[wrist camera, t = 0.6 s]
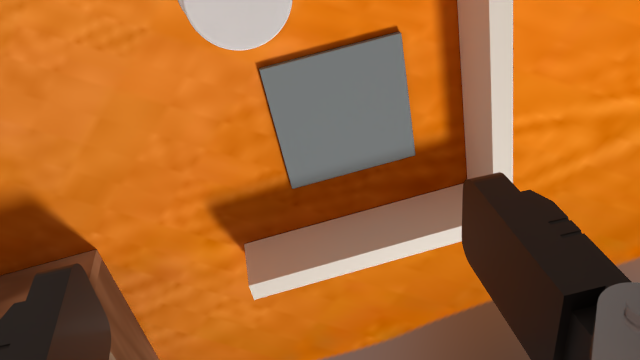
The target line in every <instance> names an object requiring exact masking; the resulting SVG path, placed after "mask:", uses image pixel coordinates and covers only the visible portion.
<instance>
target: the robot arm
mask: <svg viewBox="0 0 640 360" xmlns="http://www.w3.org/2000/svg"><path fill="white" fill-rule="evenodd" d="M462 244H463V249H464V252H465V255H466V258H467V260H468V262H469V264H470V265H471V267H472V269H473V270H474V272H475V273H476V275H477V276H478V278H479V279H480V281H481V283H482V284H483V286H484V287H485V289H486V290H487V292H488V293H489V295H490V297H491V298H492V300H493V301H494V303H495V304H496V306H497V307H498V309H499V311H500V312H501V314H502V315H503V317H504V318H505V320H506V321H507V323H508V325H509V326H510V327H511V329H512V331H513V332H514V334H515V335H516V337H517V339H518V340H519V342H520V343H521V345H522V346H523V348H524V349H525V351H526V353H527V354H528V355H529V357H530V359H531V360H640V283H632V282H631V281H630V280H629V279H628V278H627V277H626V276H625V275H624V274H623V273H622V272H621V271H620V270H619V269H618V268H617V267H616V266H615V265H614V264H613V263H612V261H611V260H610V259H609V258H608V257H607V256H606V255H605V254H604V253H603V252H602V251H601V250H600V249H599V248H598V247H597V246H596V245H595V244H594V243H593V242H592V241H591V240H590V239H589V238H588V237H587V236H586V235H585V234H582V233H581V230H580V229H579V228H578V227H577V226H576V225H575V224H574V223H573V222H572V221H571V220H570V221H569V220H568V217H567V215H566V214H565V213H564V212H563V211H562V210H561V209H560V208H559V207H558V206H557V205H556V204H555V203H554V202H553V201H551V200H549V199H547V198H545V197H543V196H541V195H539V194H537V193H535V192H533V191H532V190H527V191H522V192H520V191H519V190H518V189H517V188H516V187H515V185H514V184H513V183H512V182H511V181H510V180H509V179H508V178H507V177H506V176H505V175H504V174H503V173H501V172H498V173H494V174H489V175H484V176H480V177H475V178H471V179H466V180H465V182H464V184H463V198H462ZM110 349H111V331H110V325H109V321H108V318H107V316H106V313H105V311H104V309H103V307H102V305H101V303H100V301H99V299H98V297H97V295H96V293H95V291H94V289H93V287H92V285H91V282H90V280H89V278H88V276H87V274H86V272H85V270H84V269H83V267H82V266H81V265H80V264H78V263H76V264H71V265H67V266H62V267H57V268H53V269H48V270H44V271H39V272H37V273H36V275H35V276H34V279H33V282H32V284H31V287H30V290H29V293H28V296H27V298H26V301H22V302H18V303H14V304H13V305H12V306H11V307H10V308H9V310H8V311H7V312H6V313H5V314H4V315H3V317H2V318H1V319H0V360H109V356H110Z"/></svg>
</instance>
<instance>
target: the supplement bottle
mask: <svg viewBox="0 0 640 360" xmlns="http://www.w3.org/2000/svg"><path fill="white" fill-rule="evenodd" d="M178 2H179V4H180V6H181V8H182V10H183V11H184V13H185V14H186V16H187V18H188V20H189V21H190V23H191V25H192V26H193V27H194V29H195V30H196V31H197V32H198V33H199V34H200V35H201V36H202V37H203V38H205V39H206V40H207V41H209V42H210V43H212V44H214V45H216V46H219V47H221V48H225V49H229V50H248V49H253V48H256V47H259V46H261V45H263V44H265V43H267V42H268V41H269V40H271V39H272V38H273V37H275V36H276V35H277V34H278V32H279V31H280V30H281V29H282V27H283V26H284V24H285V23H286V21H287V19H288V16H289V14H290V10H291V6H292V0H178Z"/></svg>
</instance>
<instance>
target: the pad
mask: <svg viewBox="0 0 640 360" xmlns="http://www.w3.org/2000/svg"><path fill="white" fill-rule="evenodd" d="M259 71H260V74H261V78H262V82H263V85H264V89H265V92H266V96H267V100H268V103H269V107H270V110H271V114H272V118H273V121H274V125H275V128H276V132H277V136H278V139H279V143H280V146H281V150H282V154H283V157H284V161H285V165H286V168H287V172H288V175H289V179H290V183H291V186H292V189H294V188H298V187H301V186H305V185H308V184H312V183H316V182H319V181H323V180H327V179H330V178H334V177H338V176H341V175H345V174H349V173H352V172H356V171H360V170H363V169H367V168H371V167H374V166H378V165H382V164H385V163H389V162H393V161H396V160H400V159H403V158H407V157H411V156H414V155H415V148H414V139H413V131H412V122H411V113H410V105H409V96H408V88H407V79H406V71H405V62H404V54H403V45H402V37H401V33H400V32H395V33H392V34H388V35H384V36H380V37H376V38H373V39H369V40H365V41H361V42H357V43H353V44H350V45H346V46H342V47H338V48H334V49H331V50H327V51H323V52H319V53H315V54H312V55H308V56H304V57H300V58H296V59H292V60H289V61H285V62H281V63H277V64H273V65H270V66H266V67H262V68H259Z"/></svg>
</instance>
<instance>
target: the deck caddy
mask: <svg viewBox="0 0 640 360" xmlns="http://www.w3.org/2000/svg"><path fill="white" fill-rule="evenodd" d="M76 263H78V264H80V265H81V266H82V267H83V269H84V270H85V272H86V274H87V276H88V278H89V280H90V282H91V285H92V287H93V289H94V291H95V293H96V295H97V297H98V299H99V301H100V303H101V305H102V307H103V309H104V311H105V313H106V316H107V318H108V321H109V325H110V331H111V349H110V356H109V360H159V359H158V357H157V355H156V354H155V352H154V350H153V348H152V346H151V345H150V343H149V341H148V339H147V338H146V336H145V334H144V332H143V331H142V329H141V327H140V325H139V324H138V322H137V320H136V318H135V316H134V315H133V313H132V311H131V309H130V308H129V306H128V304H127V302H126V301H125V299H124V297H123V295H122V294H121V292H120V290H119V288H118V286H117V285H116V283H115V281H114V279H113V278H112V276H111V274H110V272H109V271H108V269H107V267H106V265H105V263H104V262H103V260H102V258H101V256H100V255H99V253H98V251H97V249H96V250H93V251H89V252H85V253H82V254H78V255H75V256H71V257H67V258H64V259H60V260H56V261H53V262H49V263H45V264H42V265H38V266H34V267H31V268H27V269H23V270H20V271H16V272H13V273H9V274H5V275H2V276H0V319H1V318H2V317H3V315H4V314H5V313H6V312H7V311H8V310H9V308H10V307H11V306H12V305H13V304H14V303H18V302H22V301H26V298H27V296H28V293H29V290H30V287H31V284H32V282H33V279H34V276H35V275H36V273H37V272H39V271H44V270H48V269H53V268H57V267H62V266H67V265H71V264H76Z"/></svg>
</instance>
